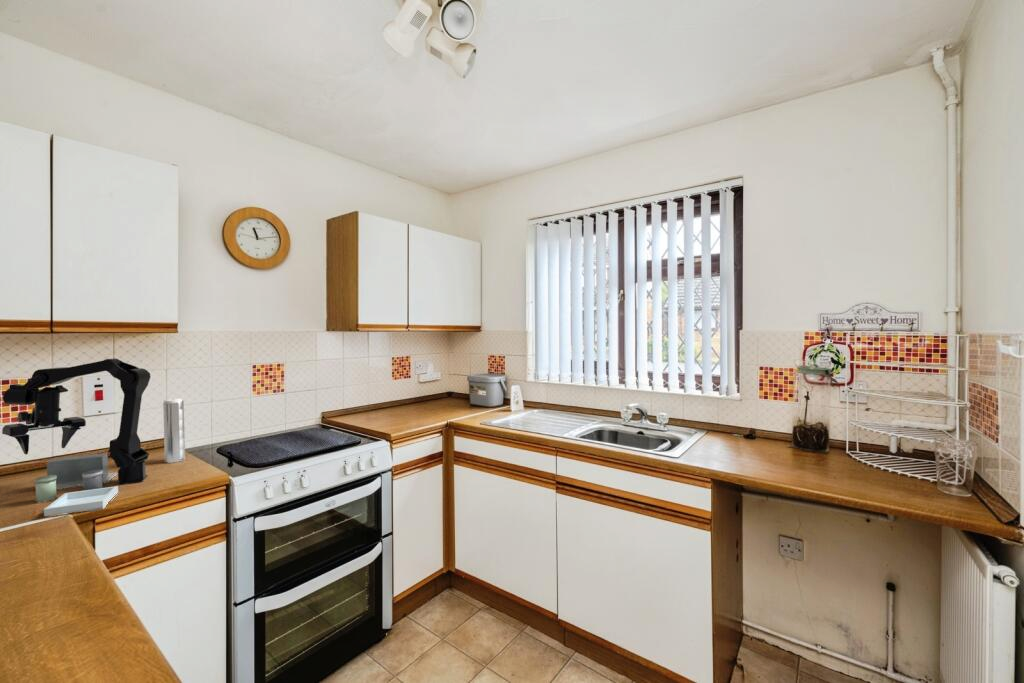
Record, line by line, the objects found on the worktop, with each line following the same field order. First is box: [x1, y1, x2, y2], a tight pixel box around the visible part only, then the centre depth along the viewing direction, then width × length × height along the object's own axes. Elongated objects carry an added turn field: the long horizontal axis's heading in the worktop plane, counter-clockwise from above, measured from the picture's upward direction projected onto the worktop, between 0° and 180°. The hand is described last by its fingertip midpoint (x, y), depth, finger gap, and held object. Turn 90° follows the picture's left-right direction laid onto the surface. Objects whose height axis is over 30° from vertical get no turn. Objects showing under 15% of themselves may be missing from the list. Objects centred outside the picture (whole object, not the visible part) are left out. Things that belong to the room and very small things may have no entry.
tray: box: [43, 485, 119, 517], centre depth 132 cm, size 13×14×2 cm
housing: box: [46, 452, 118, 490], centre depth 151 cm, size 18×9×9 cm, turn 118°
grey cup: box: [82, 470, 103, 491], centre depth 141 cm, size 5×5×7 cm
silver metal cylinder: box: [162, 398, 186, 464], centre depth 176 cm, size 6×6×25 cm
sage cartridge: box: [33, 475, 58, 503], centre depth 136 cm, size 5×5×7 cm
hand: (45, 451), depth 147 cm, fingers open, 9 cm apart
